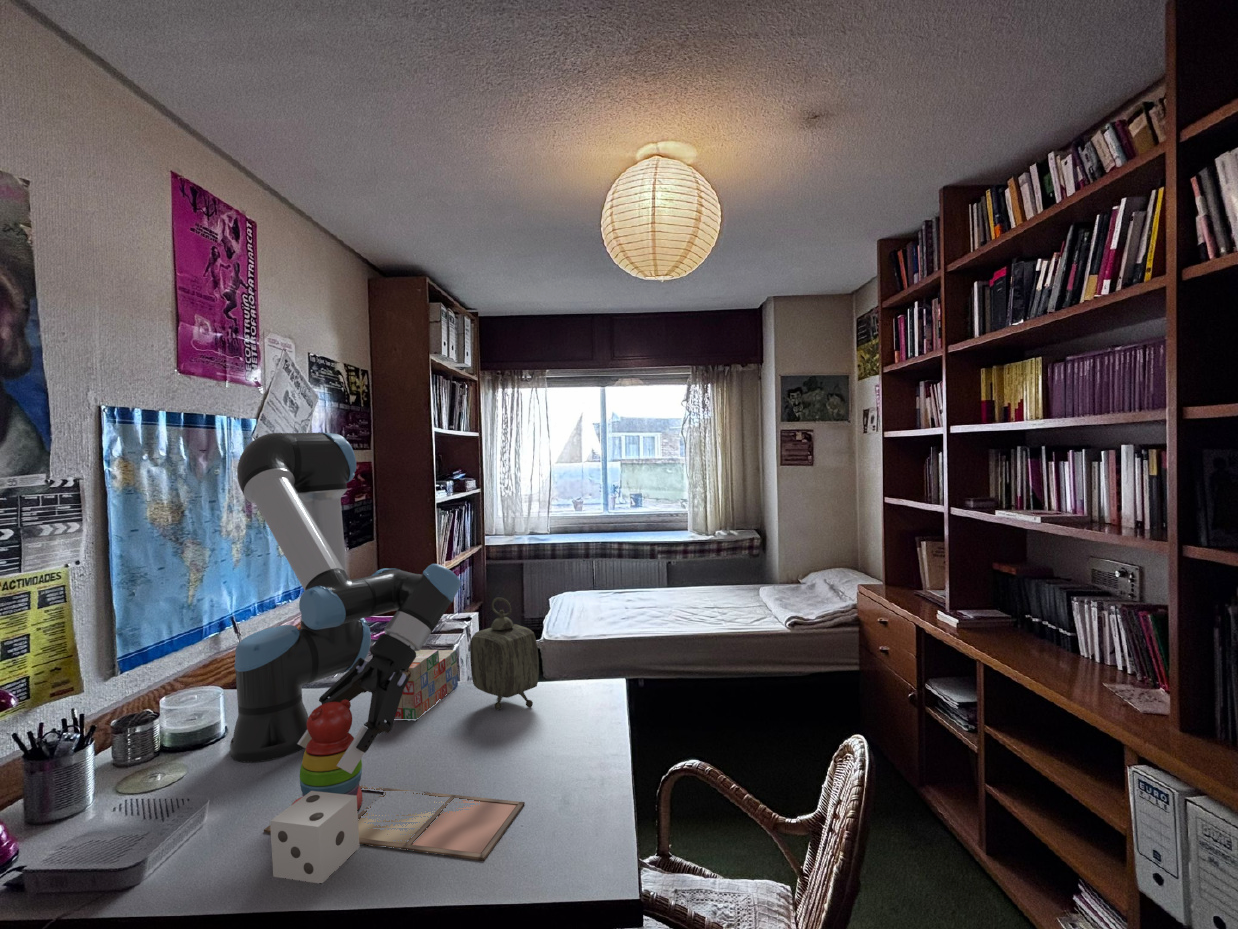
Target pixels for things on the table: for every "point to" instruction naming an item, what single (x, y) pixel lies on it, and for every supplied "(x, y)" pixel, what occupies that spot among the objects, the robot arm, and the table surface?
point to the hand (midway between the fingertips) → (323, 758)
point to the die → (314, 836)
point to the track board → (445, 827)
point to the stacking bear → (329, 752)
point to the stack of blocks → (427, 682)
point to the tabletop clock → (504, 658)
